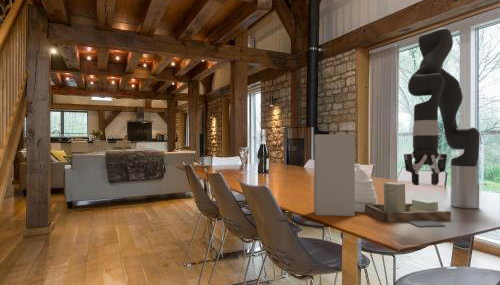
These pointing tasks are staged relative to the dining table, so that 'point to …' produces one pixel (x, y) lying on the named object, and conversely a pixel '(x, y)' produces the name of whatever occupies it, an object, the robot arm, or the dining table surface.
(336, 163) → the tall grey box
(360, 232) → the dining table surface
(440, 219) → the rack
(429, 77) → the robot arm
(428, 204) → the offcut upper
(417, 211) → the offcut lower
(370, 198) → the honey pot
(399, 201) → the skincare box
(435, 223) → the felt mat
